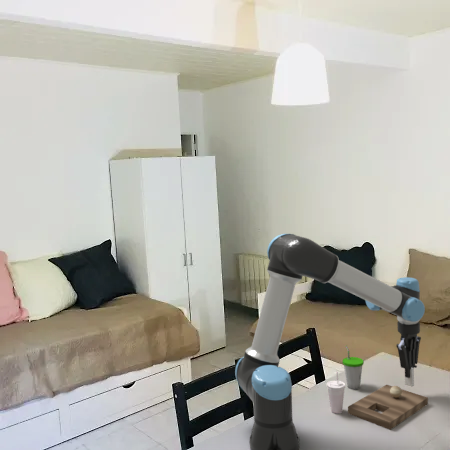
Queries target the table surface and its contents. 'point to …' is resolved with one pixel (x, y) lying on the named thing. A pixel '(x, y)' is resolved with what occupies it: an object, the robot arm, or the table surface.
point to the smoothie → (336, 394)
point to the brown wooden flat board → (387, 407)
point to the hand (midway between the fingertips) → (409, 385)
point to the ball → (396, 391)
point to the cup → (353, 371)
